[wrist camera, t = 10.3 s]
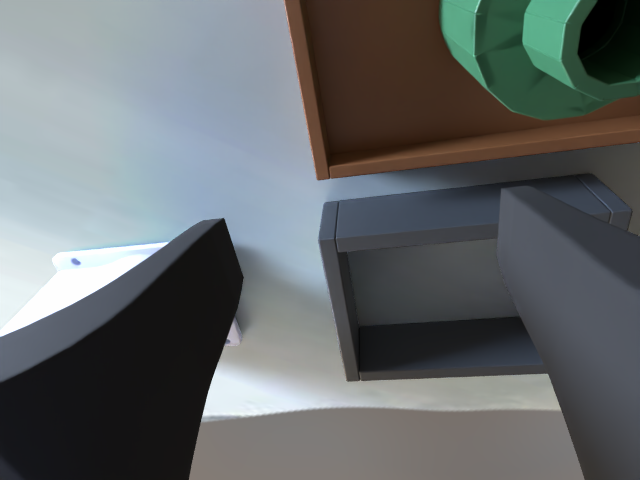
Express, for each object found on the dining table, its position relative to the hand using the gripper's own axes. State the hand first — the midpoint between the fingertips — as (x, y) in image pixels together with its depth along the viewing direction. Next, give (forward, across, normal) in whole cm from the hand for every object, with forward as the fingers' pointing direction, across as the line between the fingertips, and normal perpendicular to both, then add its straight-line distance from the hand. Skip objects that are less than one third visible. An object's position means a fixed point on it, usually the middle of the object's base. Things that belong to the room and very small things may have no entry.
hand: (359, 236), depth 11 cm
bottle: (+9, -6, -4) cm, 11 cm away
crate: (+9, -4, +8) cm, 13 cm away
